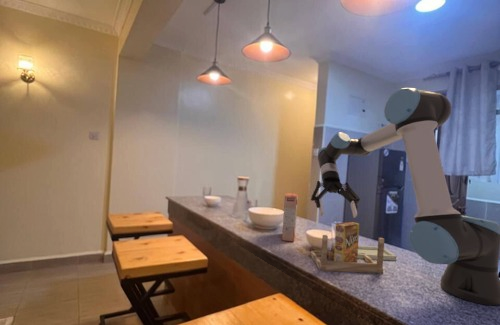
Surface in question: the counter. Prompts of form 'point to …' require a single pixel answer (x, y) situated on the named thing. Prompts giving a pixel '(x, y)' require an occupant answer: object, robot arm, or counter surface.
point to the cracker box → (289, 217)
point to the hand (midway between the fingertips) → (338, 215)
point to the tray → (374, 253)
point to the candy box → (346, 242)
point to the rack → (348, 266)
